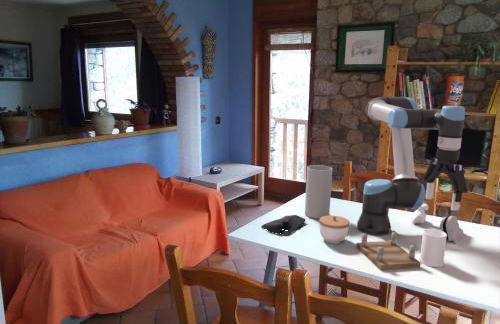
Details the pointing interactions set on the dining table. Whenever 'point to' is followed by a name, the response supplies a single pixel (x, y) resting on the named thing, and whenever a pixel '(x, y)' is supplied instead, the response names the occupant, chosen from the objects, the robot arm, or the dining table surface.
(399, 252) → the peg board
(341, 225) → the lidded bowl
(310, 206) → the cylinder vase
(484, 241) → the dining table surface
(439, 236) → the mug
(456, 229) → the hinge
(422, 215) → the bust
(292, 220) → the dark slate chunk
